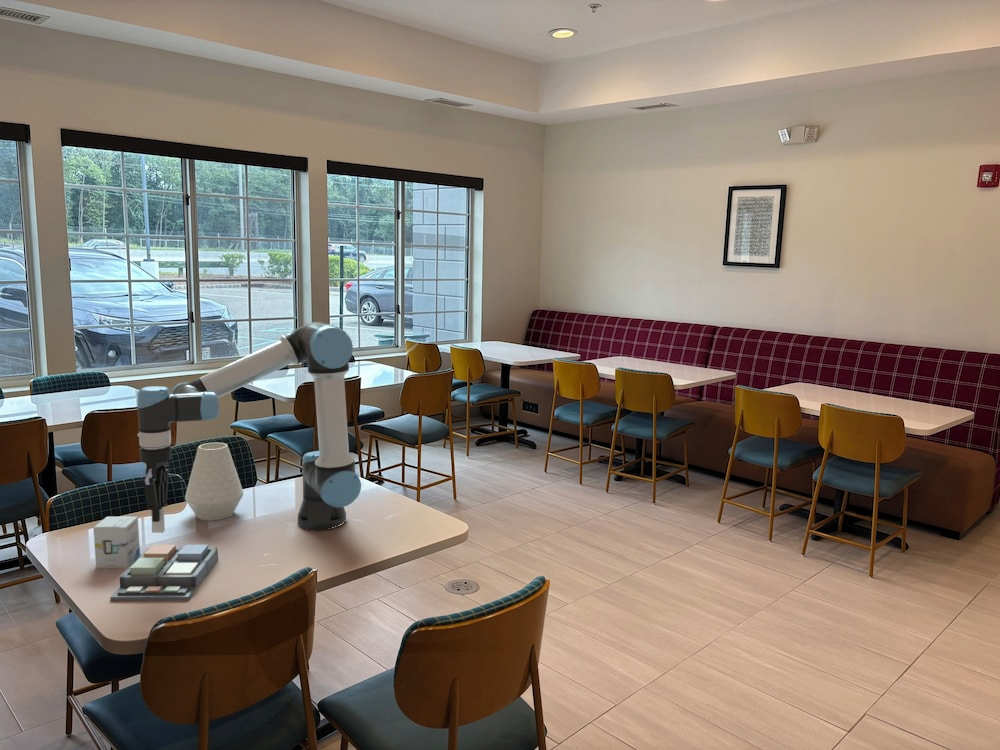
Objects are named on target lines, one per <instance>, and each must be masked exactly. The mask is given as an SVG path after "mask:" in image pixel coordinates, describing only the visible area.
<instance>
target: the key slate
mask: <svg viewBox="0 0 1000 750" xmlns="http://www.w3.org/2000/svg"><path fill="white" fill-rule="evenodd" d="M181 548H182V549H181V550H180V552H179V553H178V561H203V560H204V558H205V557H206V556H207V555H208V548H209V544H185V545H184V546H182V547H181Z"/></svg>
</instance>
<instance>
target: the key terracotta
mask: <svg viewBox="0 0 1000 750" xmlns="http://www.w3.org/2000/svg"><path fill="white" fill-rule="evenodd" d="M176 546H177V545H176V544H152V545H150V547H148V548H149V549H148V548H147V549H148V550H147V549H146V550H147V551H146V550H145V551H146V552H145V551H144V552H145V553H144V552H143V553H144V558H164V561H170V560H171V558H172V557H173V556H174V555H175V554H176V548H177V547H176Z"/></svg>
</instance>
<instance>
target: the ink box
mask: <svg viewBox="0 0 1000 750" xmlns="http://www.w3.org/2000/svg"><path fill="white" fill-rule="evenodd" d="M139 531H140V530H139V517H138V516H137V515H135V516H130V515H128V516H121V515H120V516H106V517H105V518H103V519H102V520H101V521H99V522H98V523H97V524H96V525H95V526H93V541H94V554H95V555H94V556H95V568H96V569H128V568H129V567H130V566H131V565H132V564H133V563H134V562H135V561H136V560H137V559H138V558H139V557H140V556H141V549H140V548H141V547H140V546H141V545H140V533H139Z"/></svg>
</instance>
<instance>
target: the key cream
mask: <svg viewBox="0 0 1000 750" xmlns="http://www.w3.org/2000/svg"><path fill="white" fill-rule="evenodd" d="M197 568H198V563H174V564H173V565H172V566H171V567H170V568H169V570H168V571H167V572H166V575H192V574H193V573H194V572H195V571H196V569H197Z"/></svg>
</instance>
